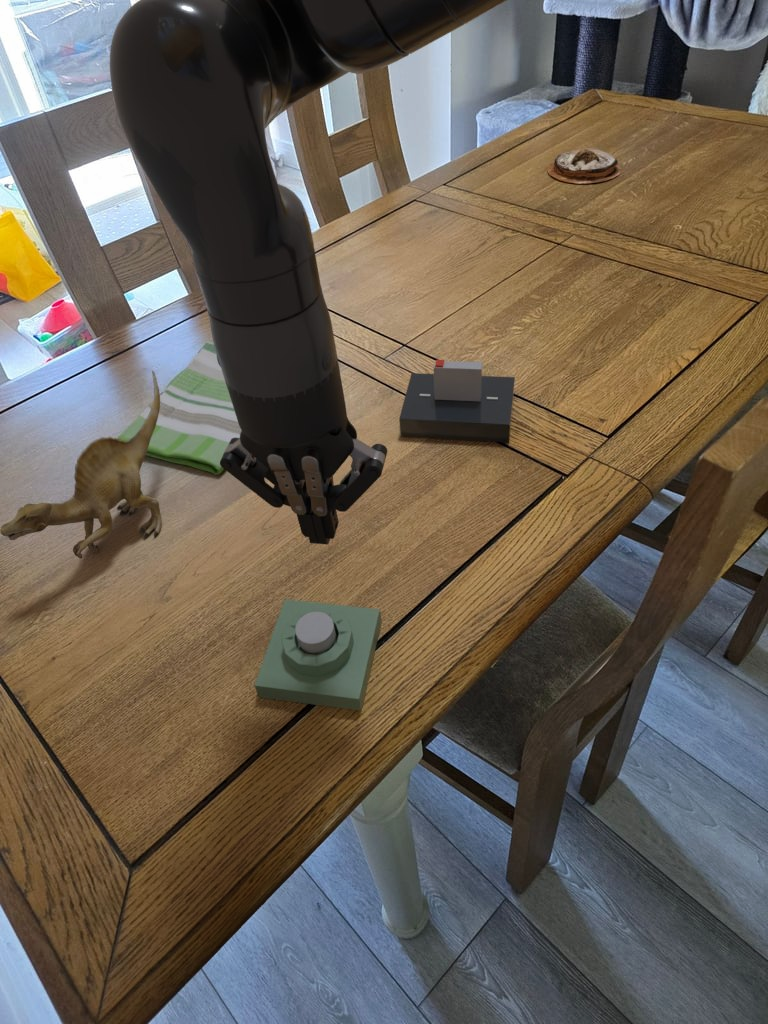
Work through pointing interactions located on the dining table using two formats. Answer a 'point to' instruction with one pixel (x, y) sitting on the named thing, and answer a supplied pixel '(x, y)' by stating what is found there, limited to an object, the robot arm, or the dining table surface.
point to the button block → (321, 658)
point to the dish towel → (193, 416)
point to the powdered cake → (584, 166)
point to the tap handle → (458, 380)
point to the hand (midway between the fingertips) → (321, 536)
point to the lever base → (458, 411)
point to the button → (315, 632)
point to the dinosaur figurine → (98, 489)
